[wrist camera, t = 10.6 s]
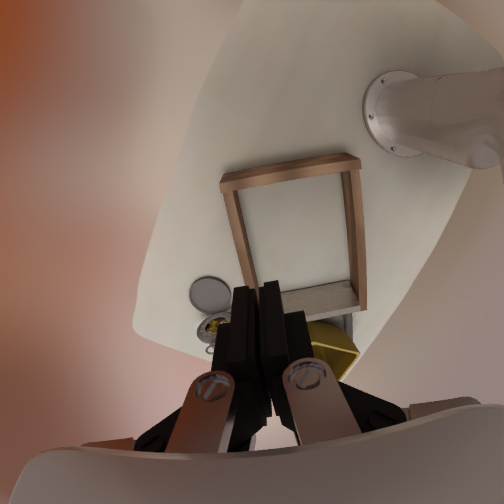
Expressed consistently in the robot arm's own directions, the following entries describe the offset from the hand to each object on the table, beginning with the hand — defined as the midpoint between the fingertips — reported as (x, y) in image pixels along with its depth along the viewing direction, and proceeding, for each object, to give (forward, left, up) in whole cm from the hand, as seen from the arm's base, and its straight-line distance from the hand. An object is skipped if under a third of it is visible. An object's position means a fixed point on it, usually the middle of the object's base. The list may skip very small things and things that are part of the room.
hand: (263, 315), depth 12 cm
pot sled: (-4, +27, -32) cm, 42 cm away
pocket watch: (+11, +19, -32) cm, 39 cm away
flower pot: (-5, +29, -32) cm, 44 cm away
